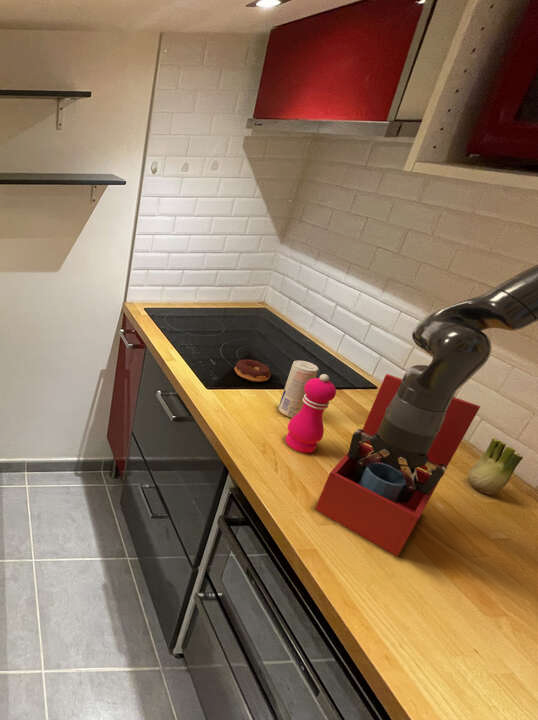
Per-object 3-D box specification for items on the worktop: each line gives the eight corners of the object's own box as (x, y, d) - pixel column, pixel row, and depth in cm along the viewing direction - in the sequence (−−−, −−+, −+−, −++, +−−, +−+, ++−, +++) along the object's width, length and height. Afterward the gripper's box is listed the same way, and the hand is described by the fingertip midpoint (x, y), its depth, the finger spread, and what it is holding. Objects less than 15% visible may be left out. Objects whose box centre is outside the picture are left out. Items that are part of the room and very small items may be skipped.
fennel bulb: (500, 501, 93) (529, 457, 88) (469, 493, 96) (496, 449, 91) (489, 483, 98) (516, 440, 93) (460, 475, 100) (485, 433, 95)
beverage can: (306, 418, 119) (323, 370, 113) (286, 419, 118) (303, 370, 112) (292, 406, 124) (308, 359, 118) (273, 407, 123) (288, 360, 117)
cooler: (397, 556, 81) (418, 517, 77) (314, 509, 91) (330, 472, 87) (420, 515, 90) (440, 478, 86) (342, 475, 100) (357, 441, 96)
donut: (238, 364, 145) (240, 353, 143) (271, 374, 139) (275, 363, 138) (229, 376, 138) (232, 365, 136) (265, 388, 132) (268, 376, 131)
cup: (396, 521, 86) (412, 489, 82) (356, 509, 88) (371, 478, 85) (387, 498, 91) (402, 468, 87) (350, 488, 93) (363, 458, 90)
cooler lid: (479, 407, 78) (485, 397, 81) (385, 374, 88) (393, 366, 91) (441, 477, 85) (447, 465, 88) (357, 440, 95) (366, 430, 98)
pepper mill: (276, 438, 111) (299, 369, 103) (298, 432, 113) (322, 364, 105) (301, 457, 105) (328, 385, 97) (324, 451, 107) (352, 380, 99)
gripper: (469, 433, 78) (430, 504, 85) (371, 396, 88) (343, 461, 95) (460, 450, 74) (420, 523, 81) (357, 409, 84) (330, 477, 91)
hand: (378, 489), depth 88 cm, fingers closed on cup, 6 cm apart
